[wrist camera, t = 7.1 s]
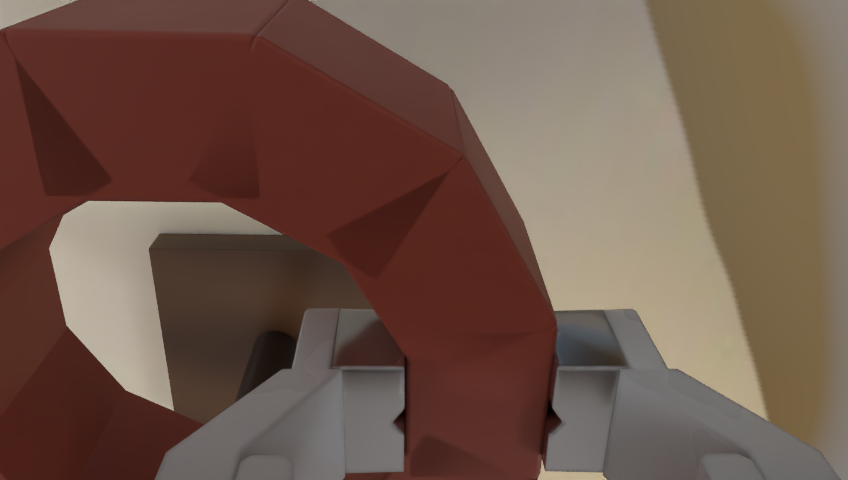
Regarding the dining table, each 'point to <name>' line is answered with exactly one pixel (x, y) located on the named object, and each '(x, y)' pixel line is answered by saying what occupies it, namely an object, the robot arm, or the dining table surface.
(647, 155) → the dining table surface
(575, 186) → the dining table surface
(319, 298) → the peg stand
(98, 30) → the ring
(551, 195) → the dining table surface
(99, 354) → the dining table surface
